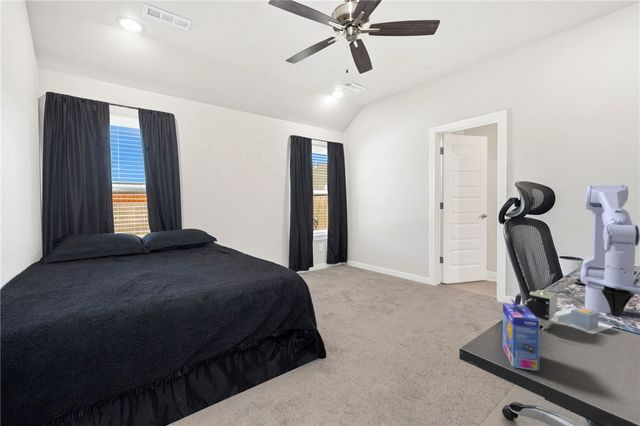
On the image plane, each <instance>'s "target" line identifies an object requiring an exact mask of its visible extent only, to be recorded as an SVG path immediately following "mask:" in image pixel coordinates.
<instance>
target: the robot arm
mask: <svg viewBox="0 0 640 426" xmlns="http://www.w3.org/2000/svg"><path fill="white" fill-rule="evenodd" d="M628 199H629V187H628V186H627V185H626V184H619V185H618V184H611V185H610V184H605V185H603V184H602V185H601V184H600V185H591V184H588V185H587V186H586V187H585V191H584V206H585V209H586V210H588V211H591V213H592V217H593V220H592V222H593V223H592V256H591V257H590V258H587V259H585V260H584V261H582V262H581V267H580V281H581V282H580V283H582V284H584V285H585V291H584V309H588V310H591V311H595V312H598V313H602V314H611V316H612V317H616V318H619V317H620V318H621V317H622V316H623V313H624V310H625V308H626V306H627V305H628V304H629V301H631V299H632V298H633V297H634V296H635V295H638V296H640V285H638V284H634V282H635V281H634V278H635V277H634V276H635V263H636V262H635V260H636V247H637V246H639V243H640V227H639V225H638V224H636V223H633V222H632V219H631V217H630V213H629V212H628V210H626V209H624V208H623V207H624V206H625V204H626V203H627V202H628Z"/></svg>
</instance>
